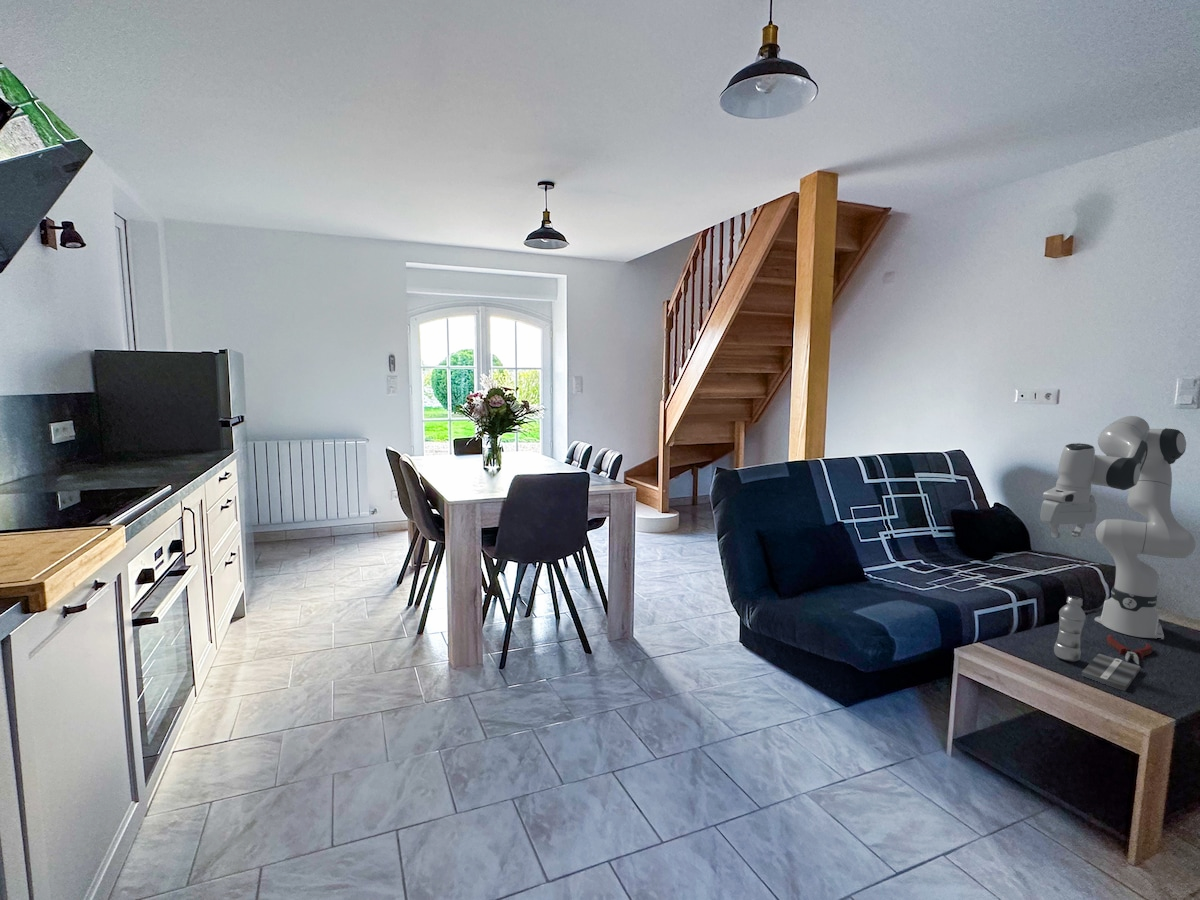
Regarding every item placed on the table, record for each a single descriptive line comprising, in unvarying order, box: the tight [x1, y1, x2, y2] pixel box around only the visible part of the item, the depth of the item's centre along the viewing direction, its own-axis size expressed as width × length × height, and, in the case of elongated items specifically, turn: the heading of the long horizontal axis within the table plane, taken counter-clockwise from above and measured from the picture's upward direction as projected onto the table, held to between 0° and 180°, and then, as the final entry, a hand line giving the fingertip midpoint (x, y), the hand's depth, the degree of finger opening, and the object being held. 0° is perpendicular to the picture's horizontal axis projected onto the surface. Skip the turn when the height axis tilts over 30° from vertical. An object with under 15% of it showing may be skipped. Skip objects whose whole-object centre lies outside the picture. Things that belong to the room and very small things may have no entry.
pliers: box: [1106, 634, 1154, 666], centre depth 194 cm, size 12×20×3 cm, turn 142°
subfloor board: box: [1080, 653, 1141, 692], centre depth 180 cm, size 20×10×2 cm, turn 129°
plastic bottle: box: [1053, 595, 1087, 662], centre depth 187 cm, size 6×7×20 cm
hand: (1065, 537), depth 192 cm, fingers open, 8 cm apart
